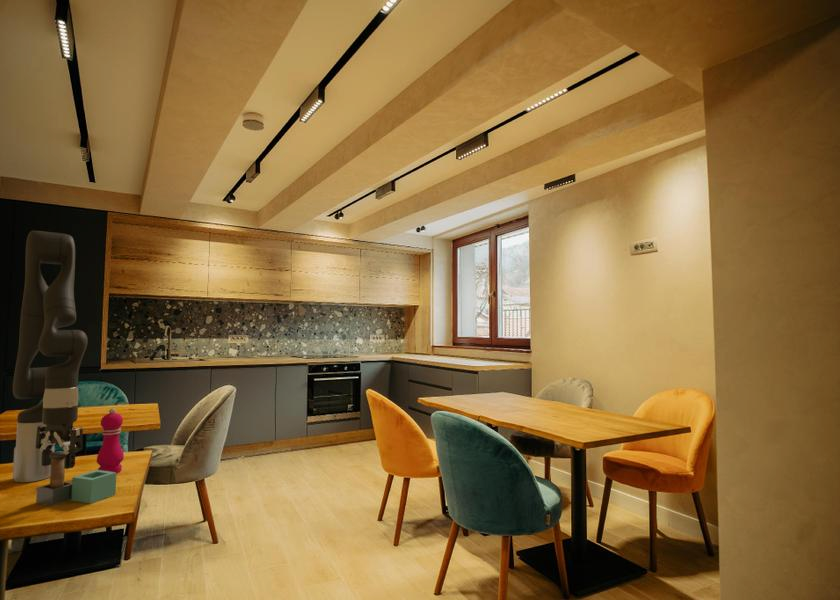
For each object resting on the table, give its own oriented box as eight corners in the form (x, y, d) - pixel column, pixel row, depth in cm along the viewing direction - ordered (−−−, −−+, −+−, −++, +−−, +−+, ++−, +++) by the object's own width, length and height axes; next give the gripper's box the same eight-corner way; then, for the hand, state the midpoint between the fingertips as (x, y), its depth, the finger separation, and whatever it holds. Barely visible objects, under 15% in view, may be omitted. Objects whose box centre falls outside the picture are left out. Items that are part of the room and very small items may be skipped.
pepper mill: (109, 476, 147) (112, 410, 148) (90, 475, 148) (93, 409, 150) (128, 469, 154) (131, 406, 155) (109, 468, 155) (112, 406, 157)
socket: (71, 500, 126) (72, 477, 127) (96, 491, 133) (97, 469, 133) (90, 503, 124) (91, 480, 125) (115, 494, 131) (116, 472, 131)
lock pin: (43, 502, 125) (46, 453, 126) (58, 497, 129) (60, 450, 129) (53, 504, 124) (56, 454, 125) (68, 499, 127) (70, 451, 128)
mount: (36, 503, 124) (36, 487, 125) (59, 495, 130) (60, 480, 130) (52, 506, 122) (53, 490, 123) (75, 498, 128) (76, 483, 128)
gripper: (27, 405, 126) (23, 468, 125) (65, 407, 122) (62, 473, 121) (56, 401, 133) (53, 461, 132) (93, 403, 129) (91, 465, 128)
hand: (57, 466), depth 126 cm, fingers open, 8 cm apart
